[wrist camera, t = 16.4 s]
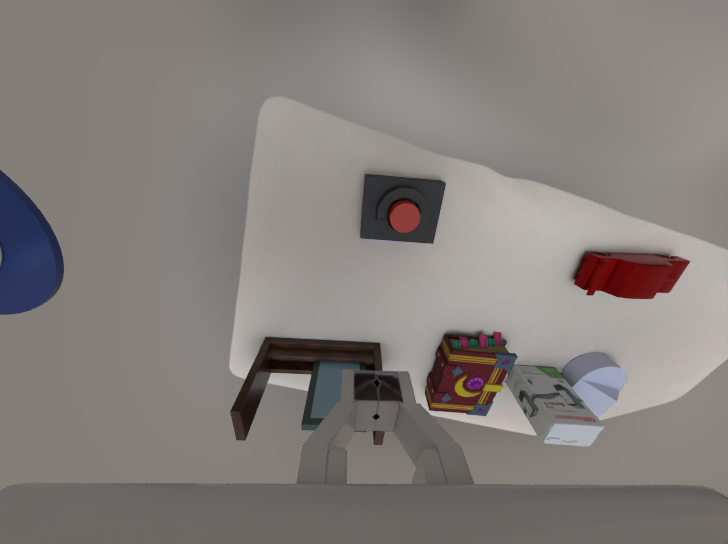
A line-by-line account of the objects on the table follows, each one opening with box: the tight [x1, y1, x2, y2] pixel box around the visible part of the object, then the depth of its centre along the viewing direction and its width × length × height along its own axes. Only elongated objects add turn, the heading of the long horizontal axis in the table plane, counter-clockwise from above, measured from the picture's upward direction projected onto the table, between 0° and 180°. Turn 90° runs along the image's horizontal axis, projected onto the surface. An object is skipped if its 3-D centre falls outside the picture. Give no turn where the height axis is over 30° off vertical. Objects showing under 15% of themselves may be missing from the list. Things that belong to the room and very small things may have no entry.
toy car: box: [574, 252, 690, 299], centre depth 38 cm, size 14×6×5 cm, turn 87°
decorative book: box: [425, 332, 518, 416], centre depth 47 cm, size 11×16×5 cm
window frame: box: [230, 337, 385, 445], centre depth 41 cm, size 20×6×14 cm, turn 85°
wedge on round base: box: [562, 353, 627, 418], centre depth 48 cm, size 9×7×13 cm
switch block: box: [360, 174, 446, 244], centre depth 34 cm, size 10×8×4 cm
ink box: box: [506, 365, 605, 446], centre depth 45 cm, size 9×5×12 cm, turn 84°
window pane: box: [302, 361, 367, 432], centre depth 39 cm, size 9×2×15 cm, turn 85°
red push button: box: [389, 200, 420, 233], centre depth 32 cm, size 4×4×2 cm
